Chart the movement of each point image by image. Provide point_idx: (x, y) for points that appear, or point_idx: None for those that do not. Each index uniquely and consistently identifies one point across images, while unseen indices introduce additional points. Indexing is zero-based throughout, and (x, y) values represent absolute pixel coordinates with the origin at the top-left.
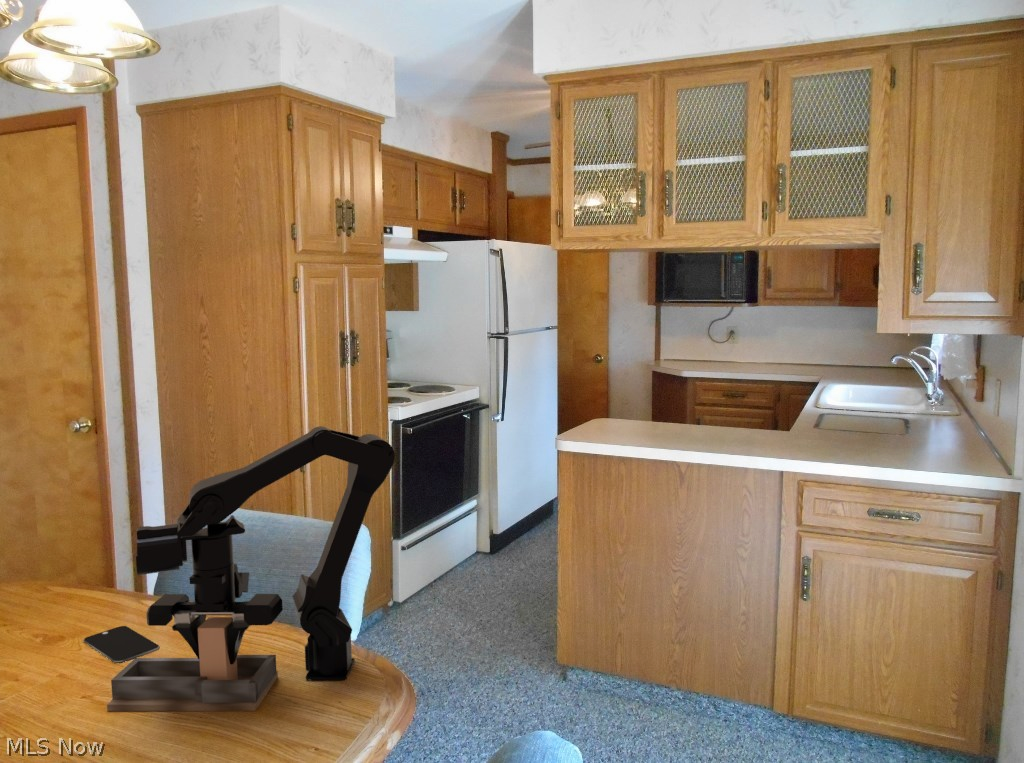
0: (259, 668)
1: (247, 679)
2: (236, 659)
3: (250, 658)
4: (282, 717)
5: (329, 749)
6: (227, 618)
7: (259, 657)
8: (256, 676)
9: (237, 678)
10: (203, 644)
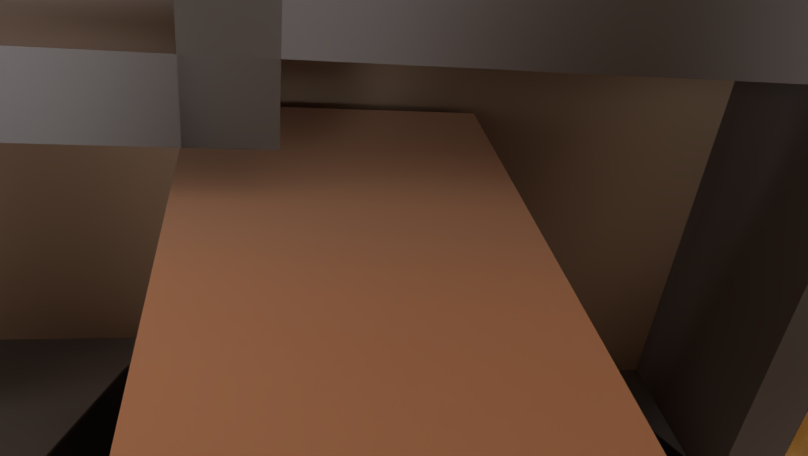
0: (790, 330)
1: (558, 77)
2: (536, 235)
3: (680, 75)
4: (799, 435)
5: None
6: None
7: (803, 81)
8: (758, 454)
9: (474, 123)
10: None
